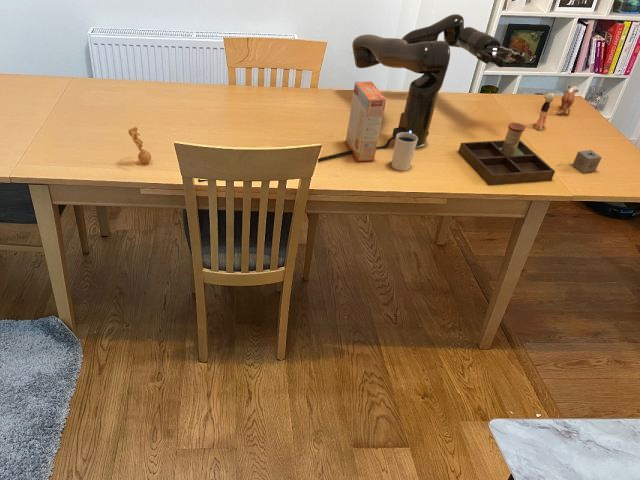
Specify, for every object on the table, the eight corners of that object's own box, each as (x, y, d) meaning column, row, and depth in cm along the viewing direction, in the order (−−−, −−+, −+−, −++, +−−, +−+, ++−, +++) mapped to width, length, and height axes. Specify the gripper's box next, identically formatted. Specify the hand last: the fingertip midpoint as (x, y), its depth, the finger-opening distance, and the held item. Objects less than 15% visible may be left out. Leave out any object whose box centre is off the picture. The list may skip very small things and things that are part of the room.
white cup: (395, 158, 190) (401, 130, 184) (414, 165, 187) (421, 136, 181) (386, 166, 186) (392, 137, 179) (405, 173, 183) (412, 144, 177)
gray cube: (595, 171, 189) (601, 157, 186) (582, 172, 188) (588, 159, 185) (584, 163, 193) (590, 149, 189) (572, 165, 191) (578, 151, 188)
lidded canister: (502, 158, 191) (512, 130, 185) (496, 151, 195) (506, 122, 188) (517, 158, 192) (527, 129, 185) (510, 150, 195) (520, 122, 189)
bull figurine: (572, 106, 228) (581, 85, 223) (566, 118, 219) (574, 97, 214) (561, 103, 230) (569, 82, 224) (554, 115, 221) (562, 94, 216)
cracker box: (375, 161, 188) (387, 98, 175) (357, 162, 187) (367, 99, 174) (362, 141, 199) (372, 80, 185) (345, 141, 198) (354, 80, 184)
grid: (489, 185, 180) (492, 175, 178) (458, 151, 196) (460, 142, 193) (551, 180, 183) (555, 171, 181) (516, 148, 199) (519, 139, 197)
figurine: (151, 169, 179) (148, 132, 171) (131, 169, 178) (127, 133, 170) (151, 156, 185) (148, 120, 177) (132, 156, 184) (128, 120, 177)
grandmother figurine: (545, 132, 210) (559, 97, 201) (534, 130, 210) (547, 96, 202) (542, 122, 215) (555, 89, 207) (531, 121, 216) (543, 88, 207)
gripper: (496, 55, 203) (527, 72, 192) (462, 59, 199) (492, 76, 188) (502, 32, 198) (535, 49, 187) (468, 36, 194) (499, 53, 183)
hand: (514, 62), depth 187 cm, fingers open, 8 cm apart
